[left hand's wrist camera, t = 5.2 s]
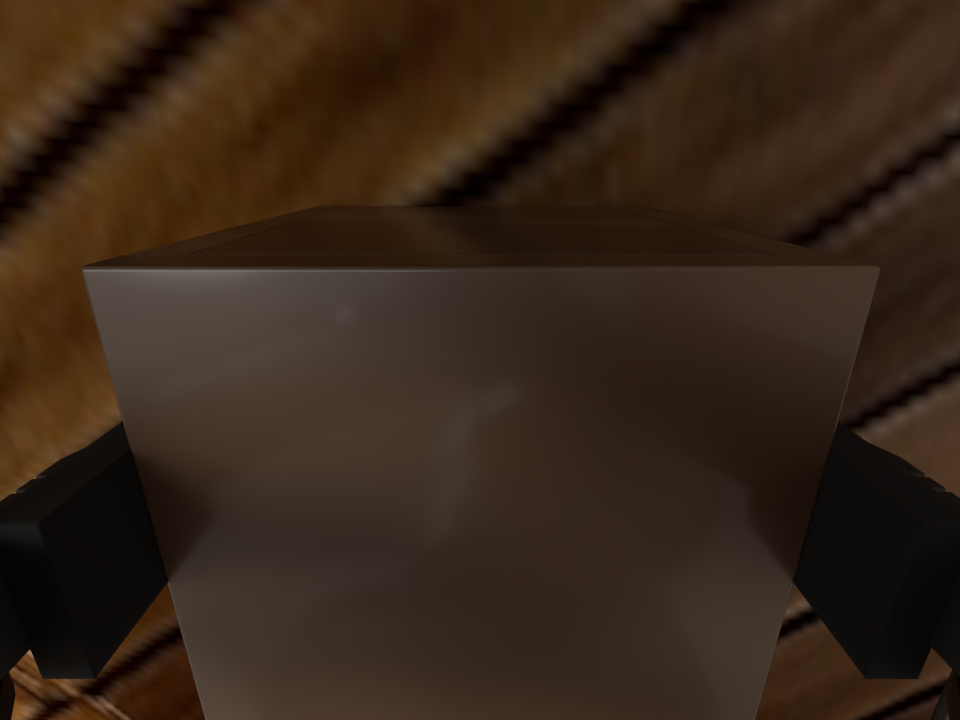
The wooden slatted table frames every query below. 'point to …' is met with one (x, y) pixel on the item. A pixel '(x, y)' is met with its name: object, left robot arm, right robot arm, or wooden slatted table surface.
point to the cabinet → (480, 455)
